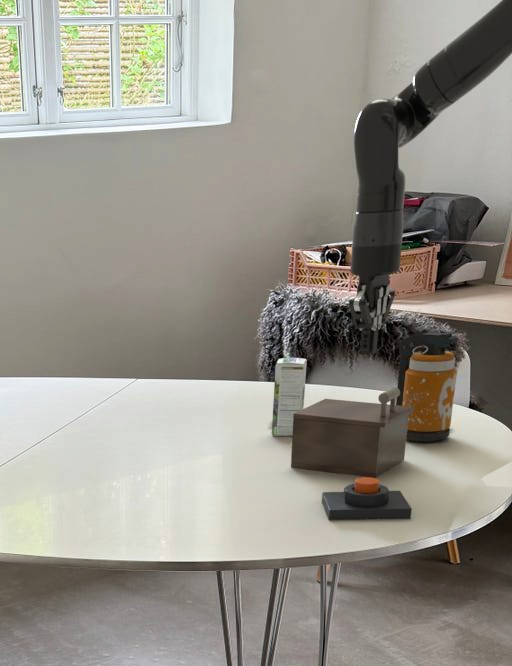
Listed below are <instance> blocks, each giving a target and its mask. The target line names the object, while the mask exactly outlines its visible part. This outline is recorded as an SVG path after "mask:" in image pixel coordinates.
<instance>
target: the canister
mask: <svg viewBox="0 0 512 666" xmlns="http://www.w3.org/2000/svg"><path fill="white" fill-rule="evenodd" d="M458 339H459V337H458V336H456V335H453V332H449V331H448V332H447V331H446V332H433V331H432V332H430V331H428V330H426V329H422V330H418V331H416V332H415V333H413V334H411V335H409V336H408V337H406V338H404V339H403V340H401V341H399V342H398V343H397V345H398V351H399V354H400V357H399V362H398V378H397V386H396V388H398V389H399V390H400V395H399V396H398V397H397V398H396V404H395V405H399V406H410V407H414V411H413V412H412V413H410V414H409V418H408V427H407V437H406V440H407V441H410V442H415V443H434V442H440V441H441V440H443V439H444V440H445V439H447V438H449V436H450V433H451V425H452V415H453V407H454V401H455V400H454V399H455V390H456V384H457V374H458V371H457V370H456V369H455V364H456V357H455V354H454V353H453V352H451V351H448V350H446V349H445V348H448V347H450V346H451V344H454V343H456V342H458ZM413 343H414V345H411V344H413Z"/></svg>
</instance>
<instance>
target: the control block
mask: <svg viewBox="0 0 512 666" xmlns="http://www.w3.org/2000/svg"><path fill="white" fill-rule="evenodd" d="M354 487H355V483H351V484H348V485H346V486H344V488H343V491H322V493H321V504H322V506H323V509H324V512H325V514H326V517H327V520H328V521H363V520H365V521H366V520H367V521H369V520H372V521H373V520H374V521H375V520H410V519H411V517H412V507H411V505H410V504H409V503H408V501H407V499H406V498H405V496H404V494H403V492H402V491H401V490H390V489H389V487H388V486H386V485H383V484H381V483H379V492H375V493H359V492H356V491H354Z"/></svg>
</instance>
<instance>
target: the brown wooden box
mask: <svg viewBox="0 0 512 666" xmlns="http://www.w3.org/2000/svg"><path fill="white" fill-rule="evenodd" d="M408 418H409V414H408V415H406V416H405V417H403V418H401V419H399V420H397V421H396V422H394V423H392V424H390V425H389V426H387V427H385V428H382V427H373V426H364V425H354V424H345V423H336V422H326V421H317V420H308V419H298V418H293V435H292V436H291V437H292V438H291V455H290V457H291V458H290V467H291V468H294V469H295V468H296V469H303V470H309V471H317V472H323V473H324V472H325V473H331V474H332V473H333V474H339V475H340V474H341V475H348V476H356V477H361V478H362V477H371V478H376V479H378V477H380V476H382V475H383V474H384V473H386V472H388V471H389V470H391V469H393V468H394V467H396V466H397V465H399V464H400V463H402V462H404V461H405V456H406V445H407V439H406V437H407V427H408Z"/></svg>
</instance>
